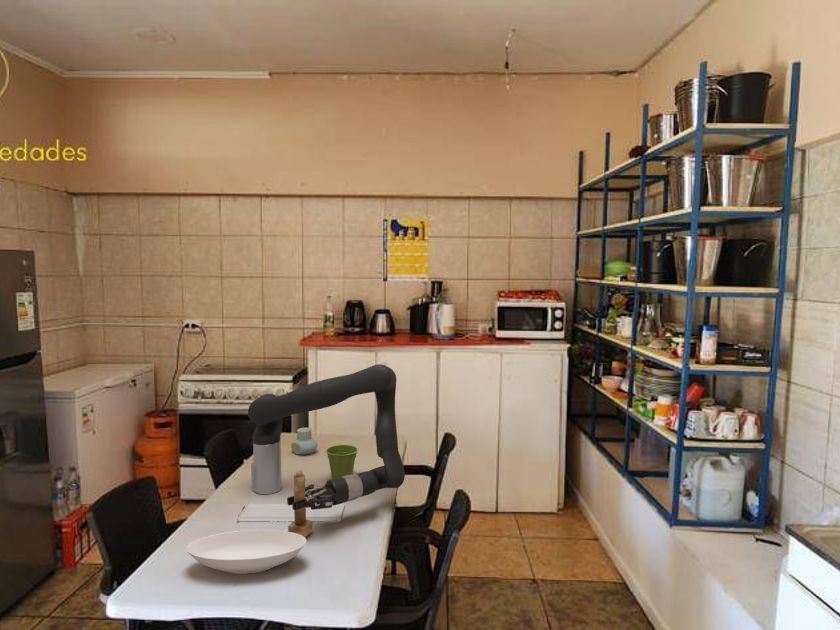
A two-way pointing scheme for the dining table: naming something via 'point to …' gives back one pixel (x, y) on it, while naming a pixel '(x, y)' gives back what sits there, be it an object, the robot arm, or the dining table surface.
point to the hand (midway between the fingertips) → (290, 504)
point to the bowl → (246, 550)
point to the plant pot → (341, 459)
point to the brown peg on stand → (300, 523)
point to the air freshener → (304, 442)
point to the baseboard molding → (289, 513)
